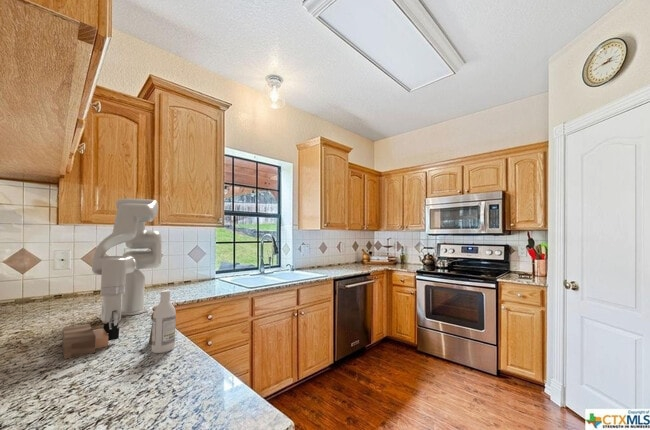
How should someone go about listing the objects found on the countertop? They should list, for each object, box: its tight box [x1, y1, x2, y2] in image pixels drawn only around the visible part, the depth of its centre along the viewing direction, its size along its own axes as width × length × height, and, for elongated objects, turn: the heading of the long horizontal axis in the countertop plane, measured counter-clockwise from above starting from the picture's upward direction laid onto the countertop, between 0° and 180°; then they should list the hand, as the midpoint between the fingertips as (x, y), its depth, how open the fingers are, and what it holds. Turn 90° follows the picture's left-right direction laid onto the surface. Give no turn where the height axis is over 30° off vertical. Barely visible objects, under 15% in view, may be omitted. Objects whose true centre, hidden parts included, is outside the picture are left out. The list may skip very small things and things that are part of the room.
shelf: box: [61, 323, 96, 359], centre depth 99 cm, size 19×8×5 cm, turn 45°
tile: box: [92, 327, 109, 350], centre depth 101 cm, size 12×10×4 cm
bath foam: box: [151, 289, 177, 354], centre depth 97 cm, size 7×7×20 cm
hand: (110, 336), depth 105 cm, fingers open, 9 cm apart
